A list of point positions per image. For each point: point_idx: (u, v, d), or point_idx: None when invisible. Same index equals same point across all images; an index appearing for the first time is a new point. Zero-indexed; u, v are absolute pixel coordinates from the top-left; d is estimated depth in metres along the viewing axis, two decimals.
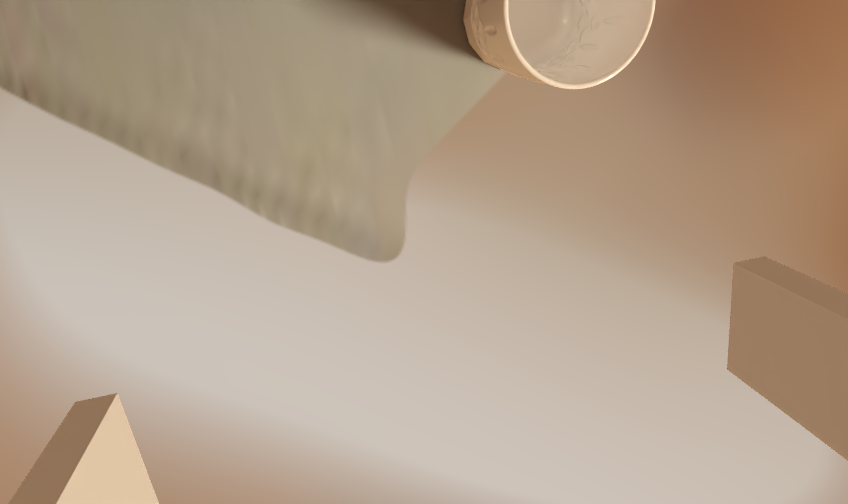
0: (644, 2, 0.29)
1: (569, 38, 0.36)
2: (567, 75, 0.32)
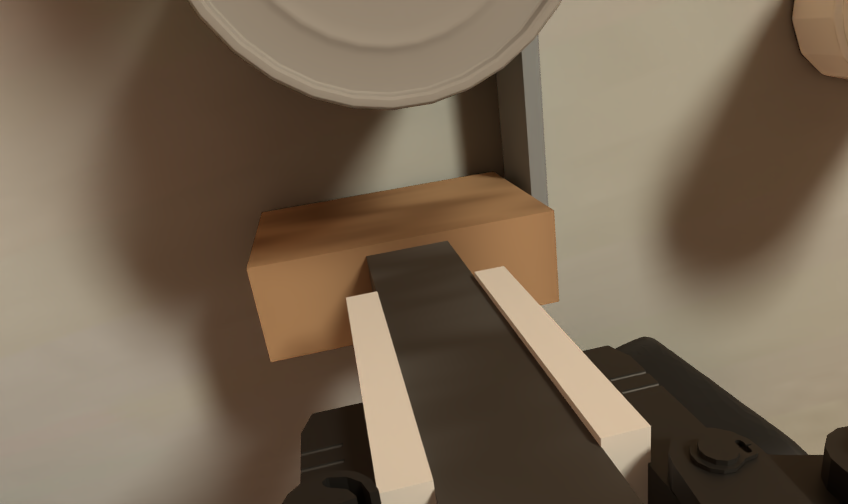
0: None
1: None
2: None
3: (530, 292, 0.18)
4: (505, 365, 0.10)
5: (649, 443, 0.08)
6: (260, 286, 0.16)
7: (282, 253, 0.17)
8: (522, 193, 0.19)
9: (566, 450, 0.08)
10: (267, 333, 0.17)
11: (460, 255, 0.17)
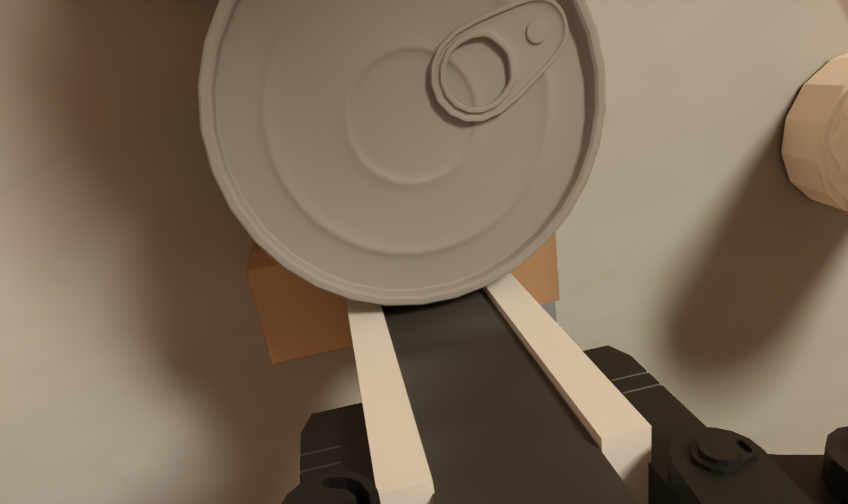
0: None
1: None
2: None
3: (530, 291, 0.18)
4: (505, 367, 0.10)
5: (650, 443, 0.08)
6: (260, 288, 0.16)
7: None
8: None
9: (565, 453, 0.08)
10: (268, 335, 0.17)
11: None
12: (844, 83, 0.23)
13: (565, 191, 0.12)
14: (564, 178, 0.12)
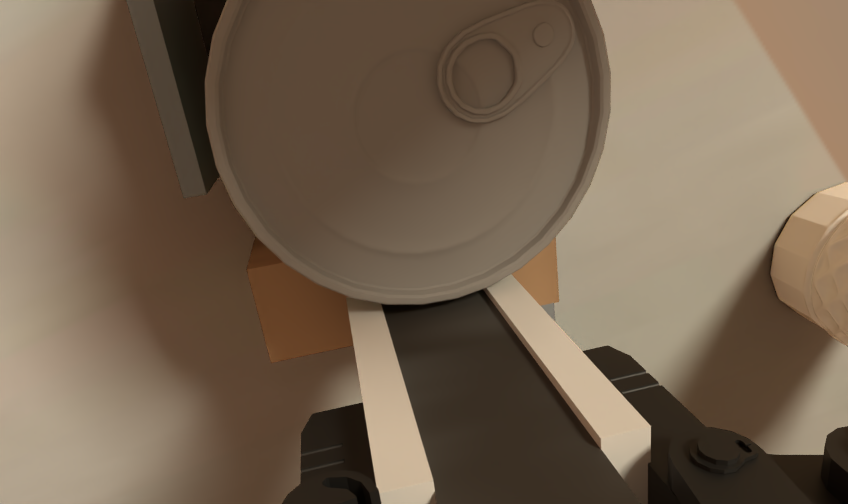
0: None
1: None
2: None
3: (530, 292, 0.18)
4: (505, 367, 0.10)
5: (649, 443, 0.08)
6: (260, 287, 0.16)
7: None
8: None
9: (566, 453, 0.08)
10: (267, 334, 0.17)
11: None
12: (827, 224, 0.25)
13: (569, 194, 0.12)
14: (567, 181, 0.12)
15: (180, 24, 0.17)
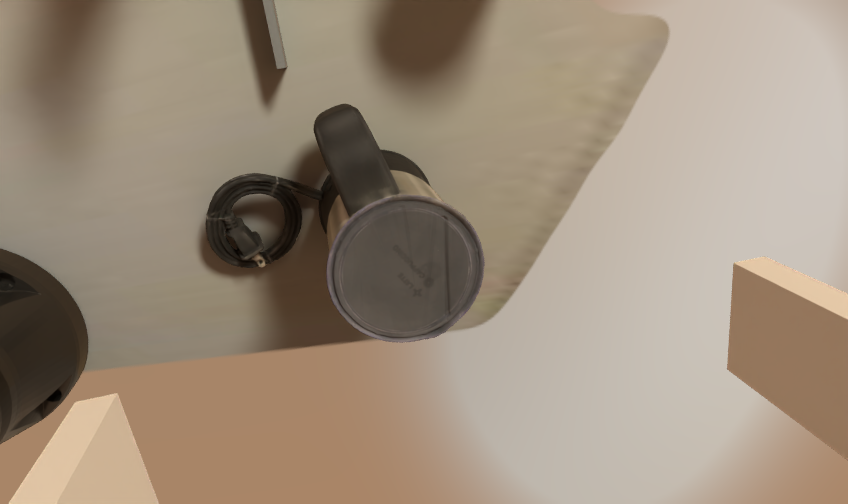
0: None
1: None
2: None
3: None
4: None
5: None
6: None
7: None
8: None
9: None
10: None
11: None
12: None
13: None
14: None
15: None
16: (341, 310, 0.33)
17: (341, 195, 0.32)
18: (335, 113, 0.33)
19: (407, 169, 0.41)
